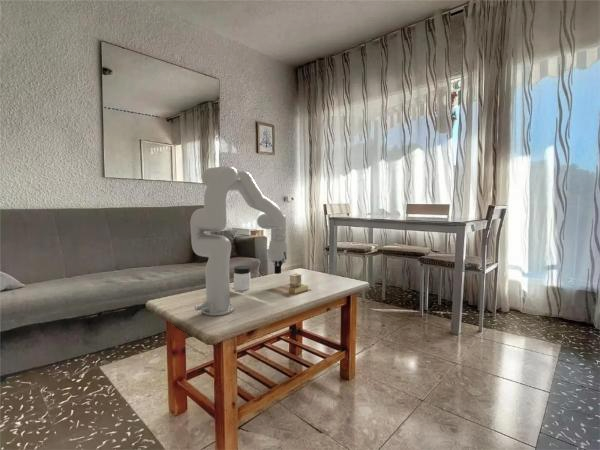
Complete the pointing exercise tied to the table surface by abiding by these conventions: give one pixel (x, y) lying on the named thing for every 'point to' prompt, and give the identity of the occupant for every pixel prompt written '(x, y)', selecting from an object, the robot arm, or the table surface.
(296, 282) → the tan block
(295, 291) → the clip
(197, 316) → the table surface
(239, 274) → the jar
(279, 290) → the board
